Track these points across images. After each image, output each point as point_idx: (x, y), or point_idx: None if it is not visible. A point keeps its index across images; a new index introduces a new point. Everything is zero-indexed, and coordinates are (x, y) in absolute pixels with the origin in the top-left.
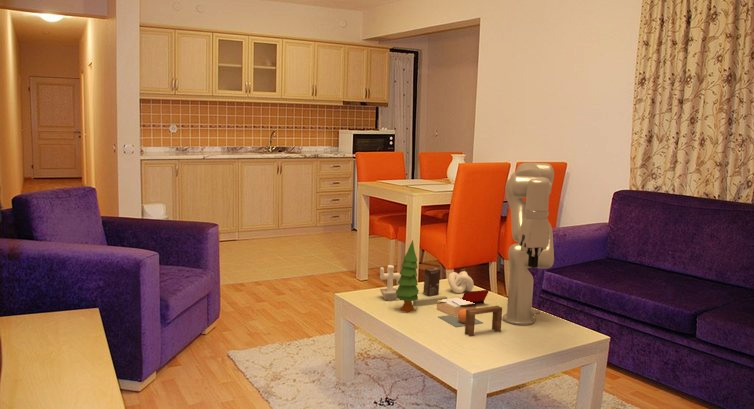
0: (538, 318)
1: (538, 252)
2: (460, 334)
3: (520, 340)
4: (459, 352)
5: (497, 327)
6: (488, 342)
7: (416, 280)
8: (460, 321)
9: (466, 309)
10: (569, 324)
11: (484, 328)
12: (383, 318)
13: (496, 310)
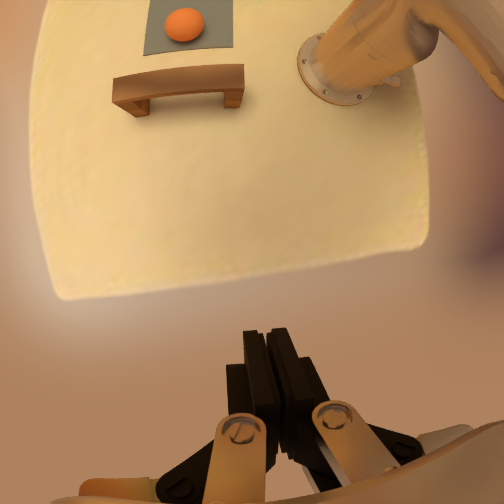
0: None
1: (317, 484)
2: None
3: (245, 183)
4: (65, 208)
5: (226, 105)
6: (154, 169)
7: None
8: None
9: (185, 16)
10: (423, 149)
11: None
12: (52, 5)
13: (218, 90)
